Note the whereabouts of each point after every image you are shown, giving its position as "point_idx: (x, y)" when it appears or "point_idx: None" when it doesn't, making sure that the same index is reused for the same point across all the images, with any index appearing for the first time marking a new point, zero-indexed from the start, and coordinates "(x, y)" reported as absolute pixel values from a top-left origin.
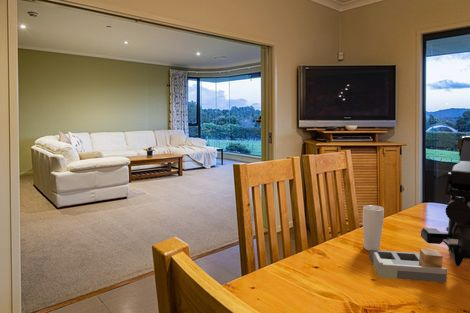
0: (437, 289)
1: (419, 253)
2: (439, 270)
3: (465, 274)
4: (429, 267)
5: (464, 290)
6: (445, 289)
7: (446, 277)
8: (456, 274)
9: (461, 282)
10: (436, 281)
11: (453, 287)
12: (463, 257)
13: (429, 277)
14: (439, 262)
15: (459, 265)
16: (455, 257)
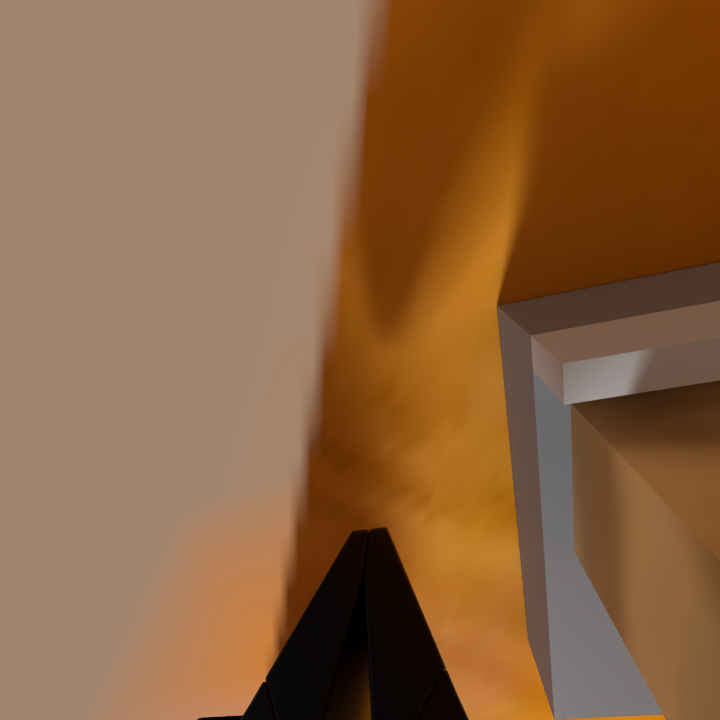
0: (663, 72)
1: (644, 709)
2: (666, 332)
3: (295, 516)
4: None
5: (355, 188)
6: (559, 120)
7: (517, 323)
8: (363, 497)
9: (350, 364)
10: (600, 286)
11: (452, 218)
12: (289, 662)
13: (716, 276)
14: (692, 478)
15: (351, 537)
16: (421, 641)
